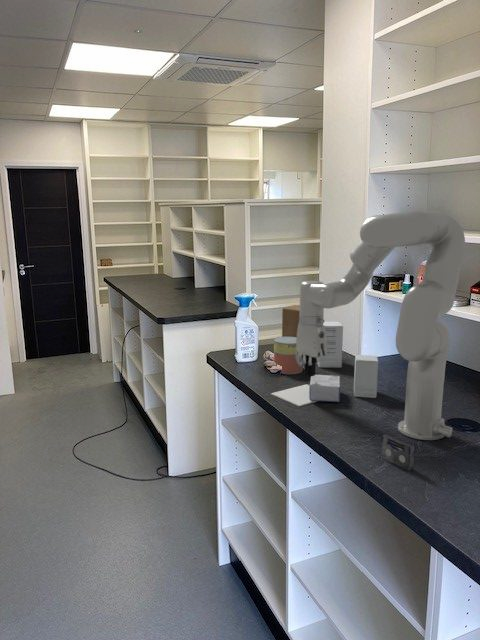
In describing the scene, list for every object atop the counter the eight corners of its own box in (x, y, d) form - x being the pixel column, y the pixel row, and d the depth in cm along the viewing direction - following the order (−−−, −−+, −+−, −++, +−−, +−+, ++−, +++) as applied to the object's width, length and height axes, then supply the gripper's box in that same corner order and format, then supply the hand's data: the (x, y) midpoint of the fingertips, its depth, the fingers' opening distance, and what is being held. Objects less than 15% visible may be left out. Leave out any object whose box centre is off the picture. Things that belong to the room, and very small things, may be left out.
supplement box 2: (376, 398, 170) (378, 361, 167) (353, 396, 171) (355, 360, 169) (375, 390, 177) (377, 355, 174) (353, 389, 178) (355, 354, 176)
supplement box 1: (342, 367, 203) (343, 326, 200) (318, 367, 203) (319, 326, 200) (337, 361, 213) (339, 321, 209) (315, 361, 213) (316, 321, 209)
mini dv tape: (412, 469, 123) (414, 445, 121) (408, 471, 122) (410, 447, 121) (385, 456, 129) (386, 434, 128) (381, 458, 128) (382, 435, 127)
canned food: (295, 375, 193) (296, 344, 191) (268, 371, 199) (268, 341, 197) (307, 368, 203) (307, 338, 201) (281, 364, 209) (281, 335, 206)
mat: (335, 396, 171) (335, 395, 171) (298, 406, 162) (299, 405, 162) (306, 385, 183) (306, 384, 183) (270, 394, 174) (271, 393, 173)
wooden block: (281, 353, 225) (281, 307, 221) (294, 348, 233) (295, 304, 229) (300, 356, 219) (301, 310, 215) (313, 352, 226) (314, 307, 222)
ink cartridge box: (340, 403, 164) (339, 387, 178) (340, 387, 163) (340, 372, 177) (308, 401, 166) (310, 386, 180) (309, 385, 165) (311, 370, 179)
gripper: (337, 322, 159) (334, 379, 163) (304, 315, 171) (302, 368, 175) (319, 325, 155) (317, 384, 159) (286, 317, 167) (285, 372, 171)
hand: (309, 375), depth 167 cm, fingers closed
